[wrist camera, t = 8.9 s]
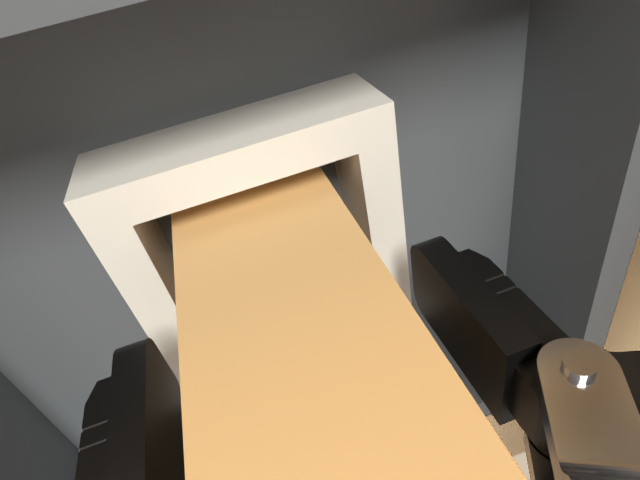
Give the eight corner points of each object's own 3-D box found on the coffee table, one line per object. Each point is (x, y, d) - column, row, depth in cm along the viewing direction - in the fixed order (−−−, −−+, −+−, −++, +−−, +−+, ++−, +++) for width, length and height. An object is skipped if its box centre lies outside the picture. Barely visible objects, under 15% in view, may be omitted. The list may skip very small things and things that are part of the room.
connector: (307, 148, 13) (586, 570, 5) (330, 253, 16) (541, 659, 7) (169, 189, 13) (199, 747, 4) (215, 292, 15) (294, 776, 7)
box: (559, -183, 11) (782, -239, 7) (512, 286, 21) (596, 370, 17) (-370, 33, 9) (-805, 127, 5) (68, 453, 18) (46, 598, 14)
